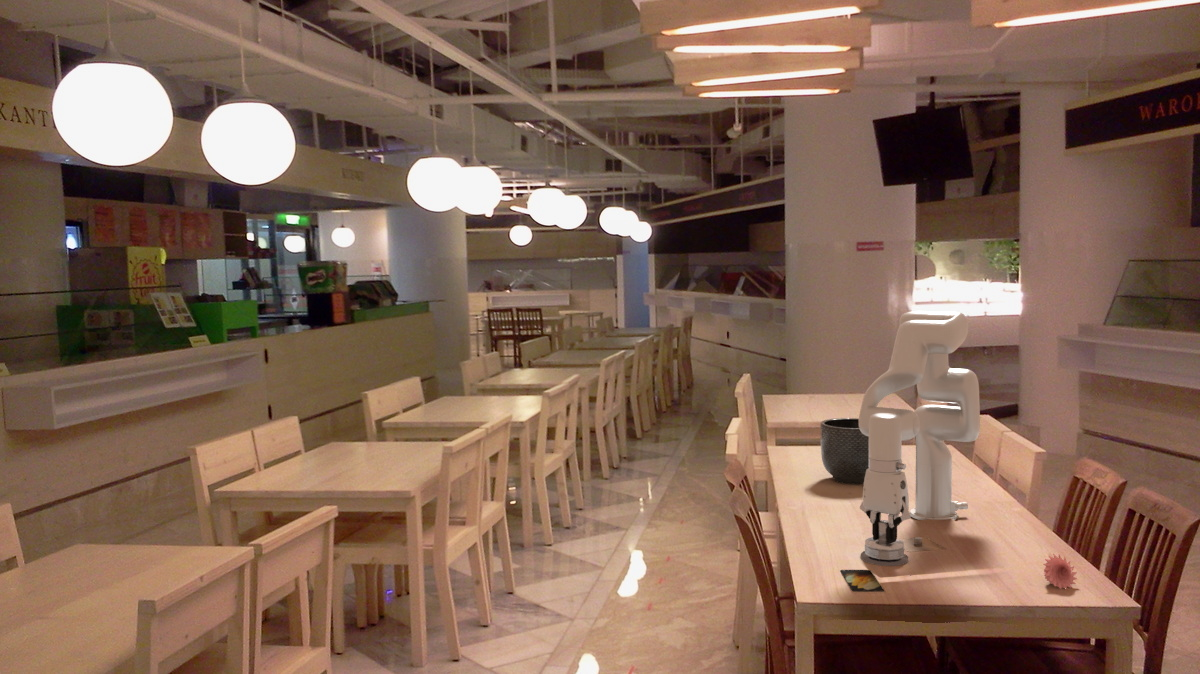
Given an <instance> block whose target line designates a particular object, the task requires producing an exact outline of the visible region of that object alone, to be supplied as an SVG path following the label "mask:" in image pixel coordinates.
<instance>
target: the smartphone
mask: <svg viewBox="0 0 1200 674" xmlns="http://www.w3.org/2000/svg"><path fill="white" fill-rule="evenodd" d="M839 572H840V573H841V576H842V577H843V579H844V581H845V583H846V584H847V586H848V588H849V590H850V591H851V593H853V594H884V593H885V592H886V591H885V590H884V587H883V586H882V585H881V583H880V582H879V581H878V579H877V578H876V576H875V575H874V573H873V571H871V570H870V569H841V570H839Z"/></svg>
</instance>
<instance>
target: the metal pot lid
mask: <svg viewBox="0 0 1200 674" xmlns="http://www.w3.org/2000/svg"><path fill="white" fill-rule="evenodd" d="M860 559H861V560H862V561H863V562H865V563H869V564H872V565H876V566H881V567H884V566H886V567H887V566H888V567H895V566H896V567H897V566H901V565H906V564H908V562H909V556H908V555H907V554H906V553H904V557H902V558H900V559H894V560H883V559H876V558H872V557H869V556H868V555H866V554H865V550H863V551H861V553H860Z"/></svg>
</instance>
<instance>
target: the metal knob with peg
mask: <svg viewBox="0 0 1200 674" xmlns="http://www.w3.org/2000/svg"><path fill="white" fill-rule="evenodd" d="M887 527H889V521H888V520H885V519H884V520H883V519H881V520H880V521H878V540H873V536H872V537H868V538H866V539H865V540H864V551H865V554H866V555H868V556H869V557H872V558H876V559H883V560H894V559H900V558H902V557H904V554H905V549H904V542H903V541H901V540H899V539H900V538H899V539H898V538H897V539H896V541H895V542H893V543H891V544H888V543H887Z"/></svg>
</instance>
